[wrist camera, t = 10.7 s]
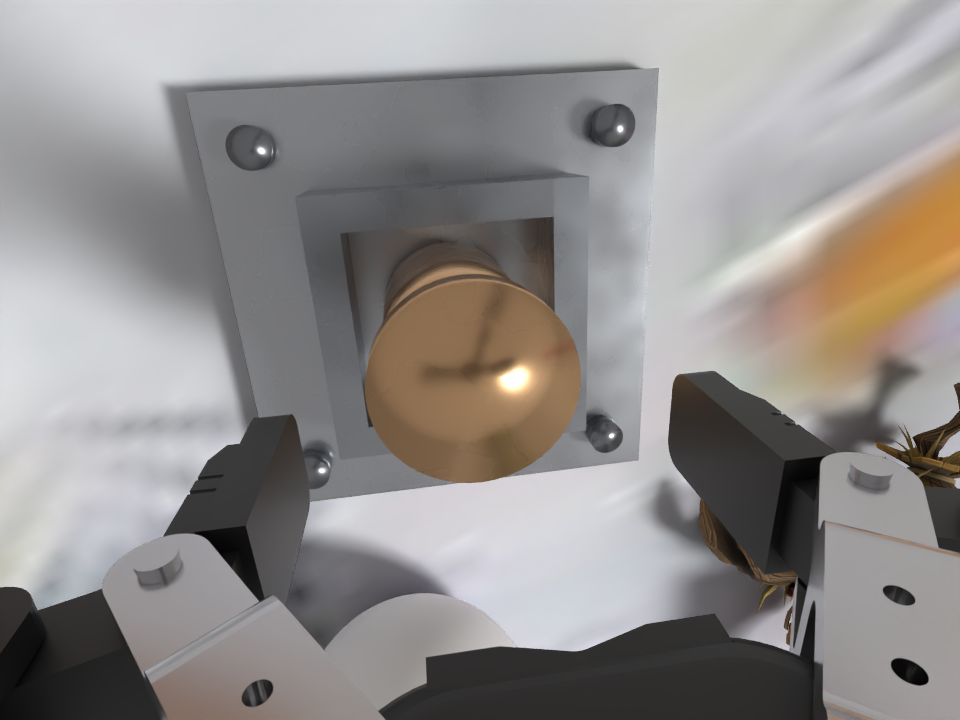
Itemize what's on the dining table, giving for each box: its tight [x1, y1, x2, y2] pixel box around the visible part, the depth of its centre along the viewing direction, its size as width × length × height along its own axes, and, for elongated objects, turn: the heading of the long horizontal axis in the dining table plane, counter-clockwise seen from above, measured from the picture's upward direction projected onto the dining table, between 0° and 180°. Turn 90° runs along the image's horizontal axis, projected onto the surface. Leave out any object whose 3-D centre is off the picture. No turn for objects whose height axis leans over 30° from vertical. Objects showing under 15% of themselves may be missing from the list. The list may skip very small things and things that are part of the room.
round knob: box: [365, 242, 581, 483], centre depth 18 cm, size 6×6×8 cm
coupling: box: [185, 68, 659, 502], centre depth 21 cm, size 16×16×3 cm
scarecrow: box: [699, 383, 960, 646], centre depth 27 cm, size 17×16×8 cm
